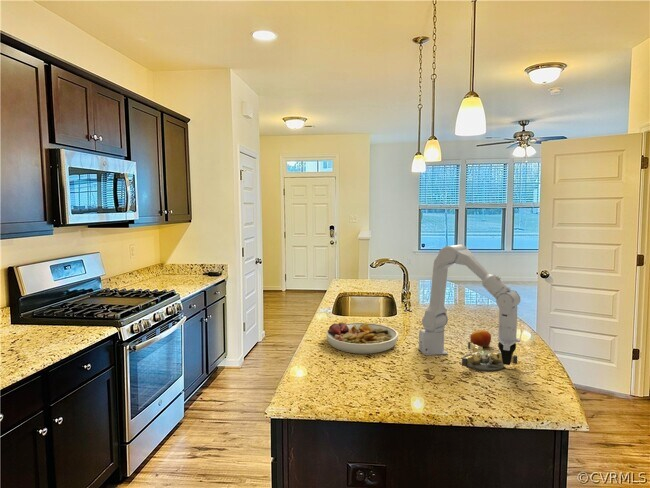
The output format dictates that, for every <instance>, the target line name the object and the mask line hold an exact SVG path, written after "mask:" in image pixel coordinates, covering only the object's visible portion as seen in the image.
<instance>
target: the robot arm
mask: <svg viewBox="0 0 650 488" xmlns="http://www.w3.org/2000/svg"><path fill="white" fill-rule="evenodd" d="M438 251H439V252H438V255H437V256H436V258H435V259H434V261H433V266H432V277H431V287H430V288H431V290H430V299H429V305H428V306H427V308H426V309H425V311H424V316H423V317H422V319H421V323H422V324H421V325H422V326H423V328H424V329H421V330H419V331H418V332H419V333H418V347H417V348H418V350H419V351H420V352H421V353H422V354H423V355H424V356H432V355H433V356H435V355H437V356H438V355H448V354H449V353H448V352H447V350H445V328H446V327H445V326H447V324H448V321H449V319H448V315H447V311H448V310H447V308H446V307H445V300H446V299H445V298H446V291H447V282H448V280H447V279H448V273H449V272H448V270H449V268H450V267H451V266H453V265H454V264H456V265H462V266H465V267H467V268H468V269H469V270H470V271H471V272H472V273H473V274H475V275H476V276H477V278H479V279H480V280H481V282H482V283H481V285H482V287H483V288H484V289H485V290H486V291H487V292H488V293H489V294H490V295H491V296H492V297H493V298H494V299H495V302H496V304H497V305H496V306H497V307H498V309H499V310H498V311H499V312H498V335H497V341H498V344H497V347H498V349H499V352H501V355H502V361H503V364H504V366H510V365H511V364H512V363H511V358H512V355H513V354H514V352H515V350H516V348H517V343H520V342H521V339H520V338H517V335H518V334H517V330H518V327H517V326H518V305H520V303H521V296H520V294H519V293H518V291H516V290H514V289H512V288H511V287H509V286H507V285H506V284H505V283H504V282H503V281H502V279H501V277H500V276H499V275H497V274H490V273H489V272H488V271H487V269H486V268H485V267H484V266H483V264H482V263H480V262H479V260H478V259H477V258H476V257H475V256H474V255H473V253H472V252H471V250H470V249H468V248H467V247H466V246H465V244H462V243H461V244H455V245H446V246H444V247H442V248H441V249H439V250H438ZM513 356H514V355H513Z"/></svg>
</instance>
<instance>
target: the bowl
mask: <svg viewBox="0 0 650 488" xmlns="http://www.w3.org/2000/svg"><path fill="white" fill-rule="evenodd" d="M398 338H399V333H398V331H397V330H395V328H392V327H390V326H387V325H384V324H378V323H373V322H371V323H369V322H350V323H345V322H339V323H332V324H331V325H330V326H329V328H328V330H327V331H326V340H327V342H328V344H329V345H330V346H332V347H333V348H334V349H336V350H338V351H342V352H343V353H345V352H346V353H349V354H358V355H361V354H362V355H367V354H371V355H372V354H378V353H383V352H386V351H388V350H390V349H391V348H392V349H393V347H394V346H395V345H396V344H397V342H398Z"/></svg>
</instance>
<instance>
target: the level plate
mask: <svg viewBox="0 0 650 488" xmlns="http://www.w3.org/2000/svg"><path fill="white" fill-rule="evenodd" d="M477 353H480V354H481V364H469V365H467V366H466V367H468V369H473V370H476V371H481V372H498V371H501V370H503V369H504V367H505V365H504V364H503V362H502V363H499V364H497V363H493V362H491V352H489V351H487V350H483V351H477ZM468 356H470V354H466V355H463V357H462V358H464V357H468Z"/></svg>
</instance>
